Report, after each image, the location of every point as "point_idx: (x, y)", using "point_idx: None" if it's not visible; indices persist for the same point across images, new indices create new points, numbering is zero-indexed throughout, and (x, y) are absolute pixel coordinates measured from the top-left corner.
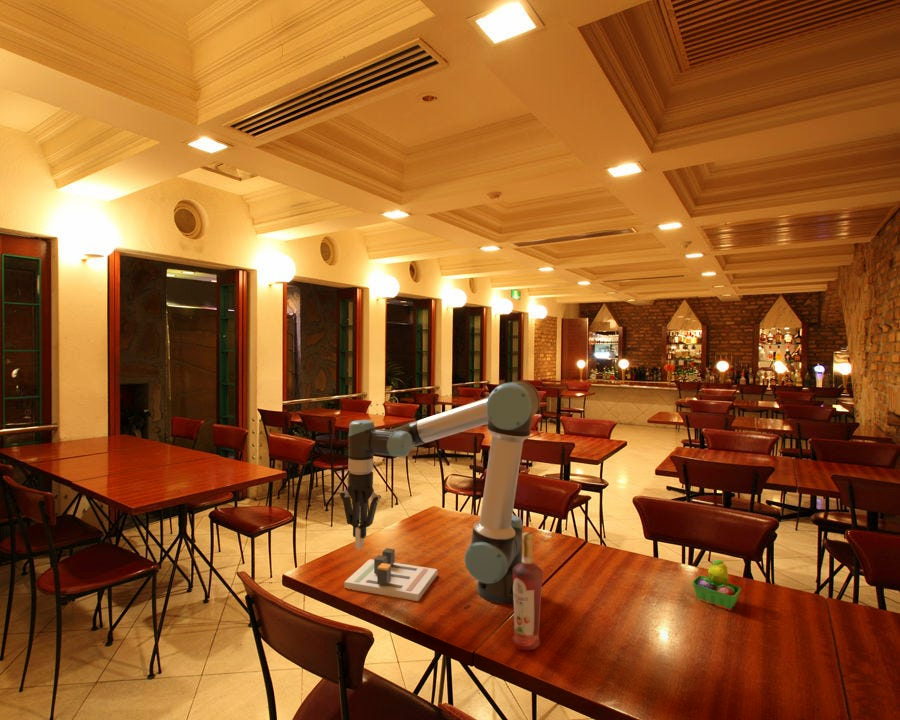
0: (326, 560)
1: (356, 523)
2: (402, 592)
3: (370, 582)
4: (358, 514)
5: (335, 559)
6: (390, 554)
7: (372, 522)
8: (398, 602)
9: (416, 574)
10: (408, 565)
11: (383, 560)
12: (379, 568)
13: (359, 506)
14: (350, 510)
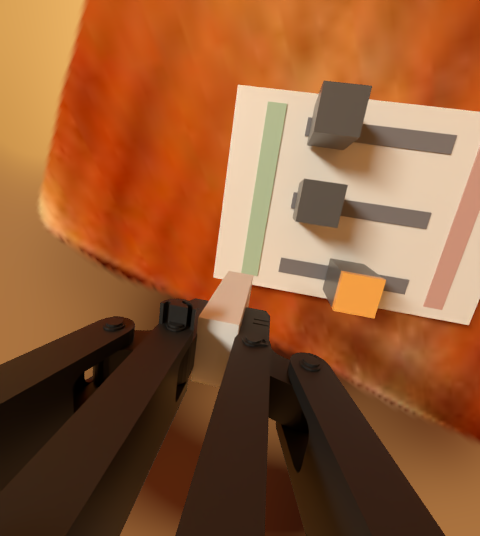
0: (82, 94)
1: (182, 392)
2: (410, 313)
3: (294, 273)
4: (153, 419)
5: (106, 77)
6: (354, 139)
7: (332, 376)
8: (392, 327)
9: (455, 187)
10: (414, 110)
11: (337, 222)
12: (341, 310)
13: (87, 518)
14: (13, 444)
